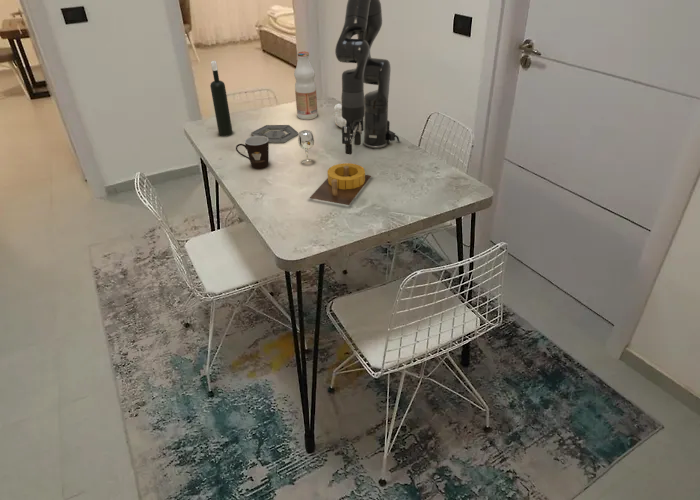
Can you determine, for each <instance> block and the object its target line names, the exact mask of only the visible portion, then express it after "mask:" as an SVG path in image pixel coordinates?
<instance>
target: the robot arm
mask: <svg viewBox="0 0 700 500" xmlns="http://www.w3.org/2000/svg"><path fill="white" fill-rule="evenodd" d="M382 11H383V10H382V3H381V1H380V0H347V2H346V8H345V16H344V23H343V26H342V30H341V33H340V35H339V37H338V39H337V41H336V45H335V49H334V54H335V58H336V60H337V61H338V62H339V63H343V64H356V67H355V68H351V69H350V68H349V69H346V70H343V71H342V73H341V97H340V98H341V104H342V118H343V119H345V120H346V121H347V122H346V126H343V127H342V128H341V144H342V145H344V149H345V150H344V153H345V154H346V155H352V154H353V142H354V145H355V146H361V144H362V134H363V146H364V147H366V148H369V149H383V148H385V147H387V145H389V144H390V142H393V141H396V140H397V142H398V143H400V141H401V140H400V137H399V136H398V135H397V134H396V132H394V131H391V130H390V126H391V125H390V124H391V123H390V121H389V120H388V117H389V97H390V96H389V95H390V82H391V69H392V67H391V63H390V61H389V60H388V59H386V58H377V57H376V58H374V57H372V56H371V48H372V47H373V44H374V41H375V40H376V38H377V36H379V33H380V31H381V29H382V25H383V13H382ZM354 36H357V38H353V37H354ZM364 84H366V85H374V86H378V87H377V89H375V90H371V91H369V92H367V93H365V92H364V89H365V88H364V87H365V85H364Z"/></svg>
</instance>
